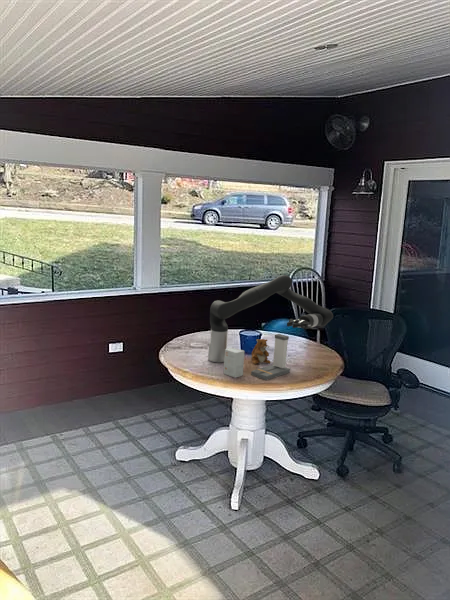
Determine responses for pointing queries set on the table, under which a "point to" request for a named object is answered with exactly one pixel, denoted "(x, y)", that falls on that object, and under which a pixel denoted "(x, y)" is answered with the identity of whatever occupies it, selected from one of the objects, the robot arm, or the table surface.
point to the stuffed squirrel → (260, 352)
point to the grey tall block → (280, 350)
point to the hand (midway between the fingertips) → (290, 325)
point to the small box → (234, 362)
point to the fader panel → (269, 372)
